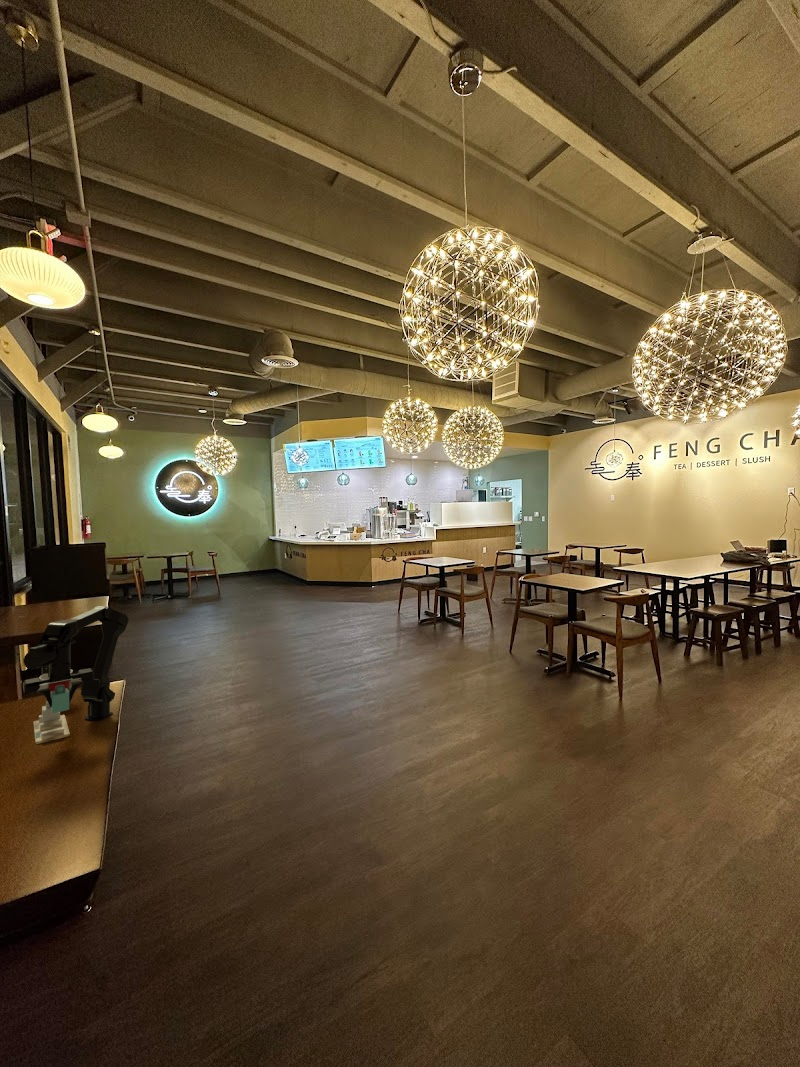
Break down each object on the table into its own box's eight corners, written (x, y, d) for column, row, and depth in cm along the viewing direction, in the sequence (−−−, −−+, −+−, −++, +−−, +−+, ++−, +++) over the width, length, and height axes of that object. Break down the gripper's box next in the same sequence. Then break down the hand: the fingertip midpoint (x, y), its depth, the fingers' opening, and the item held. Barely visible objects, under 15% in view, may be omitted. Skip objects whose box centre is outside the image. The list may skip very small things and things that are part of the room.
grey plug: (57, 719, 160) (57, 697, 160) (58, 723, 157) (59, 701, 156) (41, 722, 157) (42, 701, 157) (42, 727, 154) (43, 705, 153)
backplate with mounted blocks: (64, 716, 164) (64, 709, 164) (69, 735, 150) (69, 728, 150) (33, 723, 158) (33, 716, 158) (35, 744, 144) (35, 736, 144)
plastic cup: (39, 700, 177) (39, 671, 177) (72, 694, 184) (73, 666, 183) (37, 710, 169) (37, 679, 168) (72, 703, 175) (72, 674, 175)
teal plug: (67, 705, 151) (67, 682, 150) (69, 709, 147) (69, 686, 147) (50, 708, 147) (50, 685, 147) (52, 713, 144) (52, 689, 144)
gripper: (89, 648, 159) (89, 690, 160) (21, 659, 146) (22, 704, 147) (94, 656, 151) (94, 700, 152) (24, 668, 138) (24, 716, 139)
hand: (60, 704), depth 147 cm, fingers closed on teal plug, 4 cm apart
